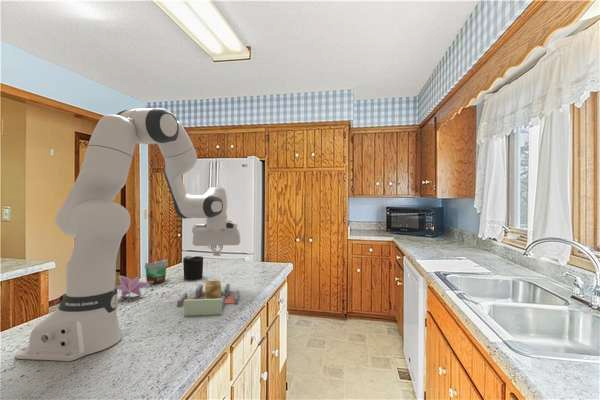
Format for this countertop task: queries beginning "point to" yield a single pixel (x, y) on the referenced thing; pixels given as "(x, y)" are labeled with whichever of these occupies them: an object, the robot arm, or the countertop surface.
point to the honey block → (212, 289)
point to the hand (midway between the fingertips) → (217, 255)
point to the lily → (131, 285)
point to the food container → (156, 271)
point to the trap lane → (206, 303)
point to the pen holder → (193, 268)
